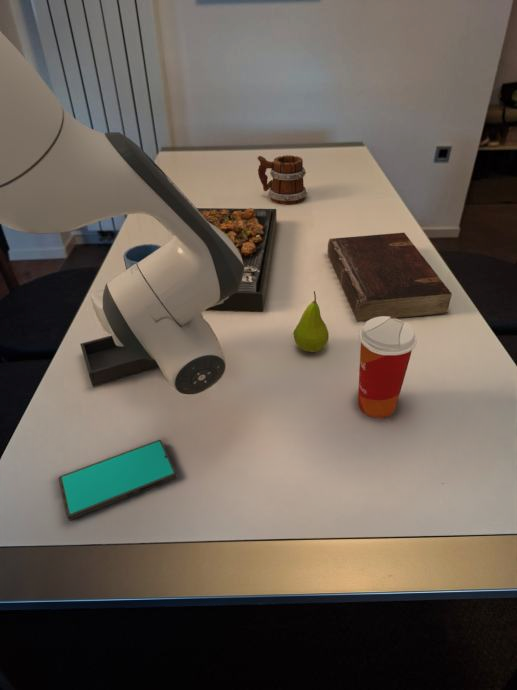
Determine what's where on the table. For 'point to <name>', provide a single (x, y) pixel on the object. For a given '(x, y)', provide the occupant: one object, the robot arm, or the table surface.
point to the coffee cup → (383, 364)
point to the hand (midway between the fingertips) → (147, 275)
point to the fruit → (311, 329)
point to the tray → (112, 361)
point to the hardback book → (387, 277)
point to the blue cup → (138, 253)
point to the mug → (284, 179)
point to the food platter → (247, 252)
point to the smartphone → (115, 479)
